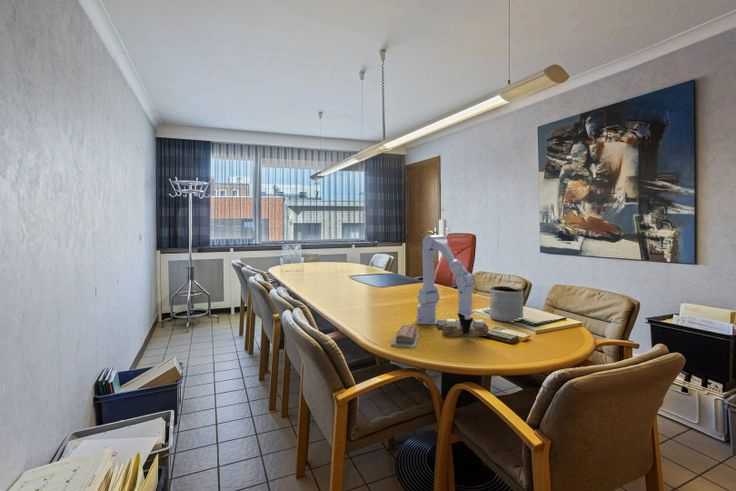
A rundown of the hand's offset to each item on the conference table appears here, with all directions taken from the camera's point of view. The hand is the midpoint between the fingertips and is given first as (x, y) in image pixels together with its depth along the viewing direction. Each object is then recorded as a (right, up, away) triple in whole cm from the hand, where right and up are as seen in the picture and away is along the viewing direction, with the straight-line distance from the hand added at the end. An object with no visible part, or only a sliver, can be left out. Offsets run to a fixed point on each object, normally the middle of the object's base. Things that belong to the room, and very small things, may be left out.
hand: (464, 331), depth 164 cm
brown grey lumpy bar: (0, -2, 0) cm, 2 cm away
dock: (+1, -1, +11) cm, 12 cm away
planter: (+28, 0, +25) cm, 38 cm away
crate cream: (-6, +2, 0) cm, 6 cm away
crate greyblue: (+6, +2, -1) cm, 6 cm away
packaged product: (-27, -3, -7) cm, 28 cm away
